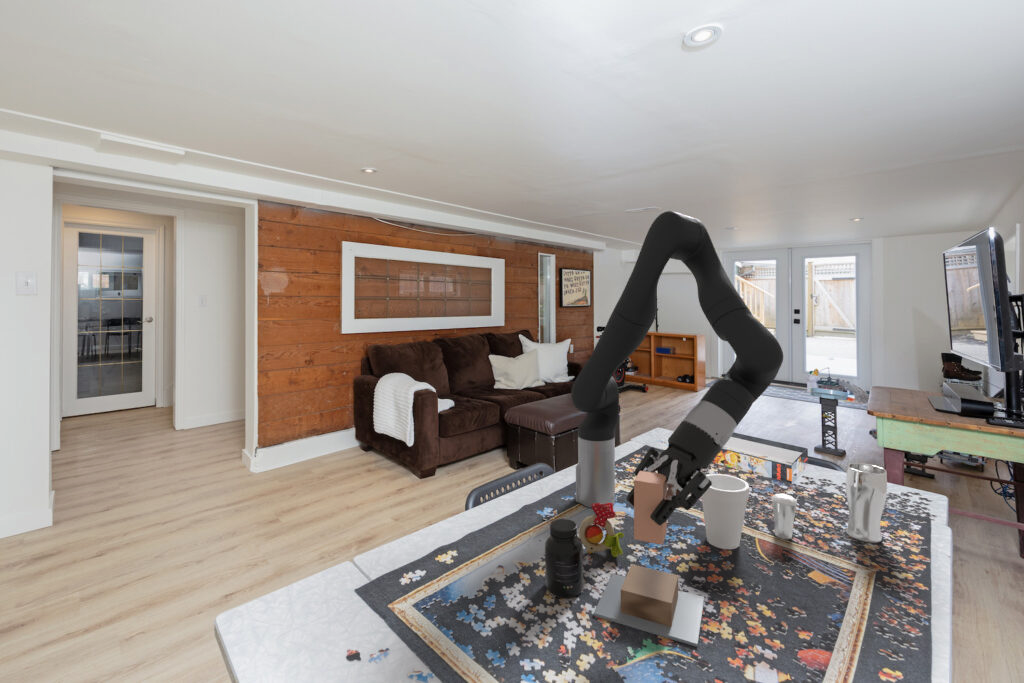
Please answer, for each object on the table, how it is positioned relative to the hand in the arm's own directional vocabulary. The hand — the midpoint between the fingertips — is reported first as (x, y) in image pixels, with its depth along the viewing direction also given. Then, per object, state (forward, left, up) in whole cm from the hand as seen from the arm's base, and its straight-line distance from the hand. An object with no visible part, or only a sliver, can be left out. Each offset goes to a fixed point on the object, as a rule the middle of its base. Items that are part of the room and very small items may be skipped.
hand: (642, 511), depth 75 cm
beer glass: (+38, +44, -17) cm, 61 cm away
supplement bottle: (-14, 0, -17) cm, 22 cm away
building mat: (+1, +1, -17) cm, 17 cm away
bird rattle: (-11, +14, -17) cm, 25 cm away
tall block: (+1, +1, -4) cm, 5 cm away
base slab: (+1, +1, -17) cm, 17 cm away
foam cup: (+11, +29, -17) cm, 36 cm away
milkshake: (+23, +37, -17) cm, 47 cm away
